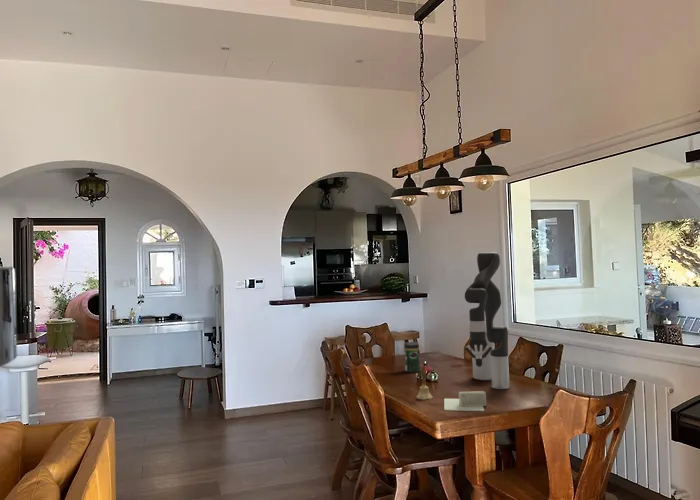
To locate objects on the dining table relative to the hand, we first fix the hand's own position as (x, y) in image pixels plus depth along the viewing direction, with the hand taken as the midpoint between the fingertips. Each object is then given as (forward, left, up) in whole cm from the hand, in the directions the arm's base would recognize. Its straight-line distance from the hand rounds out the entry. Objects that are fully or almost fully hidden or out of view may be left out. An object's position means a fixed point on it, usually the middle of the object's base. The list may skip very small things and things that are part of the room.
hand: (479, 366), depth 248 cm
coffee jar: (-79, -37, -19) cm, 89 cm away
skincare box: (+1, +2, -15) cm, 15 cm away
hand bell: (-13, -27, -19) cm, 35 cm away
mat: (0, -8, -18) cm, 20 cm away
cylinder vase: (-60, +6, -19) cm, 63 cm away
